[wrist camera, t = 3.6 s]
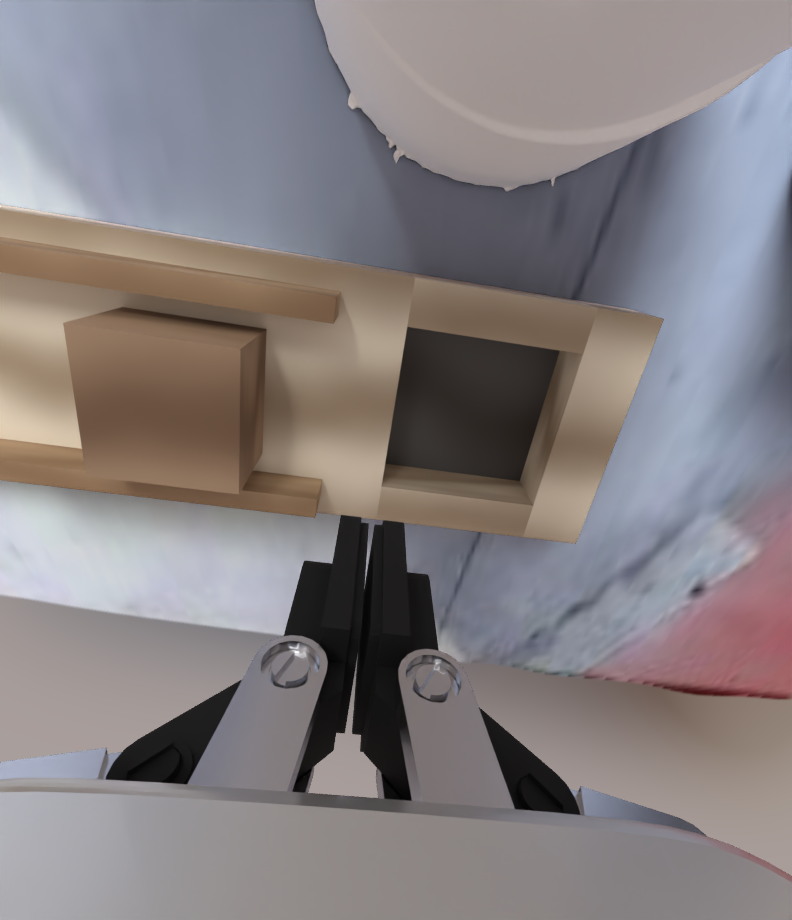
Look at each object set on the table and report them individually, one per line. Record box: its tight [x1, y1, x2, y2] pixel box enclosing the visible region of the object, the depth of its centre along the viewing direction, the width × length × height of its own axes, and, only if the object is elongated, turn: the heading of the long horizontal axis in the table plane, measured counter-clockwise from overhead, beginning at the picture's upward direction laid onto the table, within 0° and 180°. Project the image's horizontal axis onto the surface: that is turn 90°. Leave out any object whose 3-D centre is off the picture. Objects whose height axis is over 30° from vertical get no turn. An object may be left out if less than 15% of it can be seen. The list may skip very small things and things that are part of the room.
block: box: [63, 307, 267, 494], centre depth 19 cm, size 6×6×4 cm
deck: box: [0, 204, 664, 544], centre depth 22 cm, size 12×40×5 cm, turn 81°
